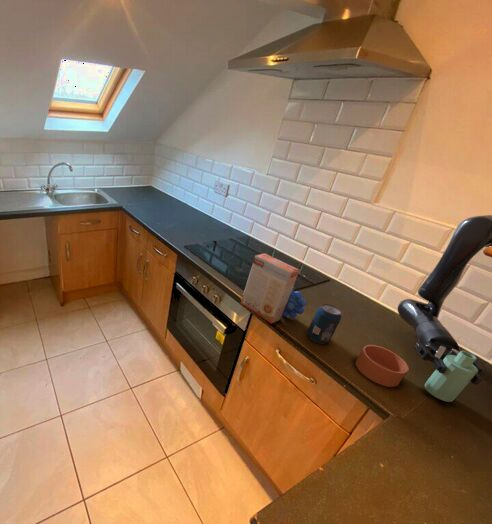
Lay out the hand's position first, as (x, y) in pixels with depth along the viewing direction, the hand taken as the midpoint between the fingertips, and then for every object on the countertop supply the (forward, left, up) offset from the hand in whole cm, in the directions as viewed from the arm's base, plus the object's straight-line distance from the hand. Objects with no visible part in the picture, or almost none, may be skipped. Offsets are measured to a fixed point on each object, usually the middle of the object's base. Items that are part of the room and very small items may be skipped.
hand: (460, 376), depth 78 cm
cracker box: (+27, -44, -10) cm, 53 cm away
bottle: (-2, -2, -8) cm, 9 cm away
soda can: (+15, -28, -10) cm, 33 cm away
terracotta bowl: (+8, -12, -10) cm, 17 cm away
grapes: (+20, -39, -10) cm, 45 cm away
